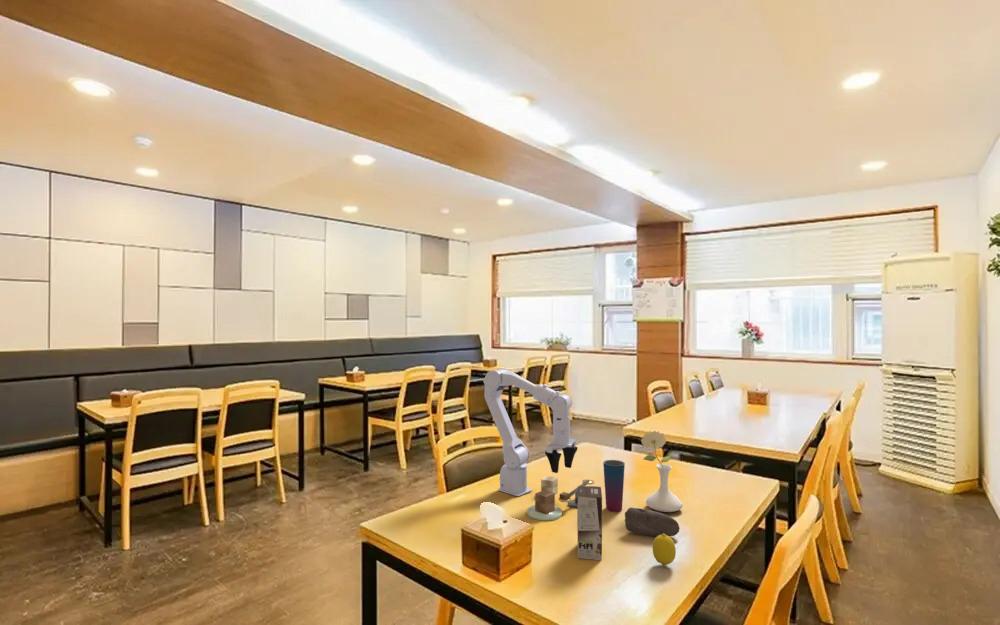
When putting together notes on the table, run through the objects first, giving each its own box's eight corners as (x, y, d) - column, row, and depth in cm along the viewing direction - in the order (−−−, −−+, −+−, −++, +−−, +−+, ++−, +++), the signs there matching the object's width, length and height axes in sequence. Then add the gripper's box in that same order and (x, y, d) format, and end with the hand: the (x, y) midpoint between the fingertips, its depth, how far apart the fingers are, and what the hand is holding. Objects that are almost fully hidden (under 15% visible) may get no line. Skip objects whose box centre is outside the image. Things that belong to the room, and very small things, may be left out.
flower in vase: (684, 505, 171) (684, 429, 171) (680, 517, 160) (680, 437, 160) (643, 499, 176) (643, 426, 176) (637, 511, 166) (637, 433, 166)
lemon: (649, 561, 132) (649, 529, 132) (670, 560, 133) (670, 529, 133) (657, 571, 127) (657, 539, 127) (679, 570, 127) (679, 538, 127)
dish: (520, 514, 164) (520, 510, 164) (541, 504, 172) (541, 501, 172) (547, 523, 156) (547, 520, 156) (569, 513, 164) (569, 510, 164)
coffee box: (602, 560, 133) (602, 497, 133) (577, 558, 134) (576, 496, 134) (601, 545, 142) (601, 486, 142) (578, 543, 143) (577, 484, 143)
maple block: (541, 495, 181) (541, 479, 181) (546, 491, 185) (546, 475, 185) (552, 497, 179) (552, 481, 179) (557, 493, 183) (557, 477, 183)
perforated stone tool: (679, 535, 148) (679, 510, 148) (679, 542, 143) (679, 517, 143) (626, 527, 153) (626, 504, 153) (624, 534, 148) (623, 510, 148)
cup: (625, 513, 164) (625, 466, 164) (603, 512, 165) (603, 465, 165) (624, 505, 170) (624, 460, 170) (603, 504, 172) (603, 459, 172)
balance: (556, 510, 167) (556, 490, 167) (586, 496, 179) (586, 477, 179) (566, 513, 164) (566, 493, 164) (596, 499, 177) (596, 480, 177)
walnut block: (535, 511, 163) (535, 493, 164) (543, 507, 167) (543, 490, 167) (546, 514, 161) (546, 496, 161) (554, 510, 164) (554, 493, 164)
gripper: (558, 435, 169) (558, 477, 169) (583, 428, 180) (583, 467, 180) (541, 432, 174) (541, 472, 174) (566, 425, 185) (566, 463, 185)
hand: (561, 469), depth 177 cm, fingers open, 7 cm apart
